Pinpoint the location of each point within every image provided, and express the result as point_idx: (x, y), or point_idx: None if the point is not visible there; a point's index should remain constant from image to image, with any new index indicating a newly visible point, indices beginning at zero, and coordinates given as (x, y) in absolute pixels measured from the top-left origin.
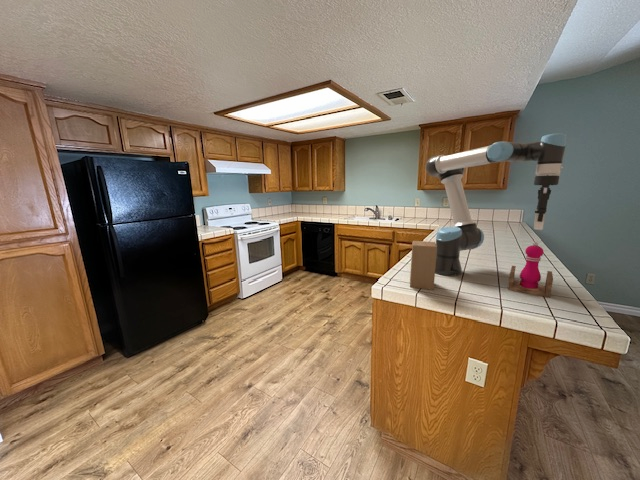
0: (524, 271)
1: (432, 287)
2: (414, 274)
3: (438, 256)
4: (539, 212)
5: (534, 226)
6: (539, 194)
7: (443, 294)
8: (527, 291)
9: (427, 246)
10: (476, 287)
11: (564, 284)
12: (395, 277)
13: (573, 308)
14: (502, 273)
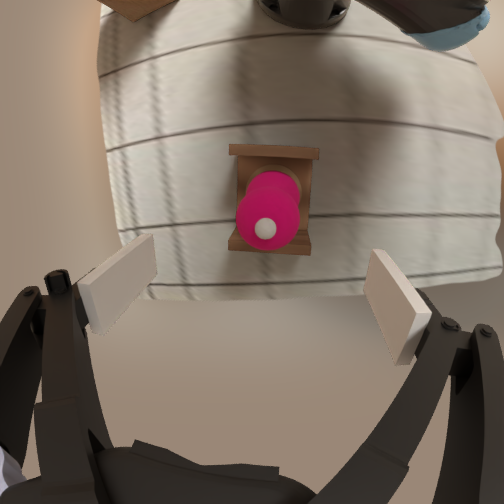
0: (257, 182)
1: (129, 19)
2: None
3: None
4: (46, 297)
5: (134, 241)
6: (45, 461)
7: (120, 46)
8: (237, 188)
9: None
10: (205, 78)
11: (365, 273)
12: None
13: (200, 265)
14: (387, 135)
